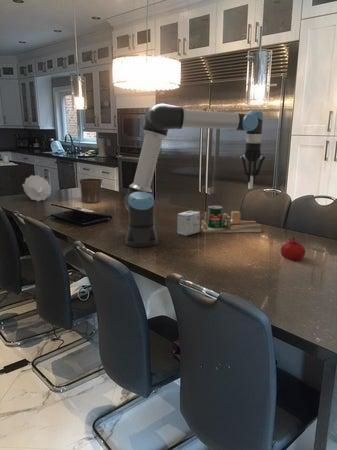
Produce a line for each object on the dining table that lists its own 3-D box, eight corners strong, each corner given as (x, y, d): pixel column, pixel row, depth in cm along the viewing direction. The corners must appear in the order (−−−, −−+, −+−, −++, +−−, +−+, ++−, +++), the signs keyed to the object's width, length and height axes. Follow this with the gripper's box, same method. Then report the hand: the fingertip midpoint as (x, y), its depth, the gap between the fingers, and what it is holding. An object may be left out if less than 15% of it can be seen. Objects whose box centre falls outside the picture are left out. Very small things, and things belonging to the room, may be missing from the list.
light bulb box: (190, 229, 199) (191, 210, 197) (200, 232, 195) (200, 212, 192) (176, 233, 192) (177, 213, 189) (186, 236, 188) (186, 215, 185)
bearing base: (261, 231, 197) (262, 217, 194) (204, 232, 193) (205, 217, 191) (255, 226, 206) (256, 212, 204) (201, 227, 203) (201, 213, 201)
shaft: (239, 227, 198) (240, 212, 196) (223, 227, 197) (224, 213, 195) (237, 225, 202) (238, 211, 200) (221, 225, 201) (222, 211, 199)
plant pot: (92, 198, 281) (91, 177, 277) (107, 201, 272) (106, 179, 268) (75, 202, 268) (74, 179, 264) (90, 204, 259) (90, 181, 255)
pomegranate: (291, 264, 151) (293, 242, 148) (275, 256, 160) (276, 235, 157) (310, 260, 155) (312, 239, 152) (293, 252, 163) (295, 232, 161)
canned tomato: (217, 224, 204) (218, 204, 201) (224, 228, 197) (226, 207, 194) (204, 225, 201) (205, 205, 198) (211, 229, 194) (212, 208, 191)
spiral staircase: (40, 201, 291) (47, 205, 269) (18, 193, 282) (22, 196, 260) (49, 179, 291) (56, 182, 269) (27, 170, 282) (32, 172, 260)
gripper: (263, 142, 193) (259, 187, 199) (238, 142, 192) (236, 187, 198) (268, 143, 186) (264, 189, 192) (243, 142, 185) (240, 189, 191)
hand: (250, 188), depth 195 cm, fingers closed
